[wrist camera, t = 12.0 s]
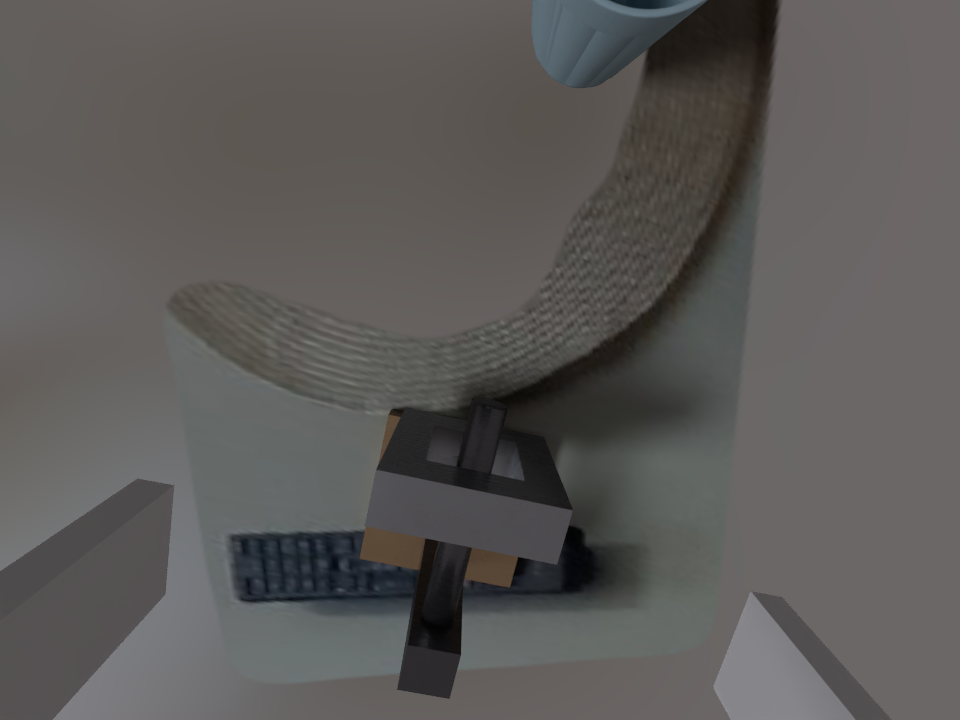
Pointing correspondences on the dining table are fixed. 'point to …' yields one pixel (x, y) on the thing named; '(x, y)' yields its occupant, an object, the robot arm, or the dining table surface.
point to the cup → (599, 34)
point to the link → (470, 491)
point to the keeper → (442, 566)
